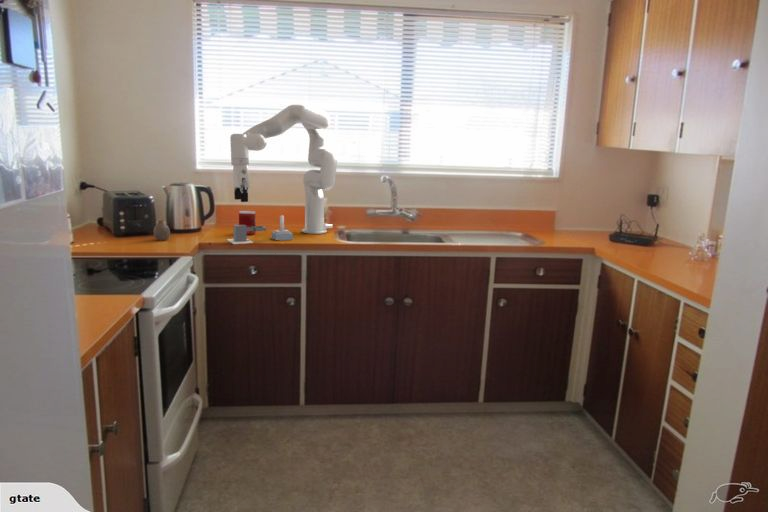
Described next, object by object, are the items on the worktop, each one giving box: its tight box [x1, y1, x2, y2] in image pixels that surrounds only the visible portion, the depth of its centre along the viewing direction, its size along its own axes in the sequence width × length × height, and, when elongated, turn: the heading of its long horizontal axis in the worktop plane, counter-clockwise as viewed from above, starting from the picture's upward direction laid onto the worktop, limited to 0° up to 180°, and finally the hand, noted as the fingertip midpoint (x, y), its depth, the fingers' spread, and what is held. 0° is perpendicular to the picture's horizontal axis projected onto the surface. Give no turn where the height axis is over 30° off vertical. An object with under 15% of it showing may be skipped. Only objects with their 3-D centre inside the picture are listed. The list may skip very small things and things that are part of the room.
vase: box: [153, 219, 171, 242], centre depth 249 cm, size 7×7×9 cm
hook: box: [232, 224, 267, 242], centre depth 254 cm, size 14×5×7 cm, turn 120°
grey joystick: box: [270, 215, 294, 241], centre depth 261 cm, size 8×7×11 cm
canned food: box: [238, 210, 257, 236], centre depth 272 cm, size 8×8×11 cm
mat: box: [226, 238, 254, 245], centre depth 252 cm, size 9×11×1 cm
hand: (241, 200), depth 250 cm, fingers open, 9 cm apart
